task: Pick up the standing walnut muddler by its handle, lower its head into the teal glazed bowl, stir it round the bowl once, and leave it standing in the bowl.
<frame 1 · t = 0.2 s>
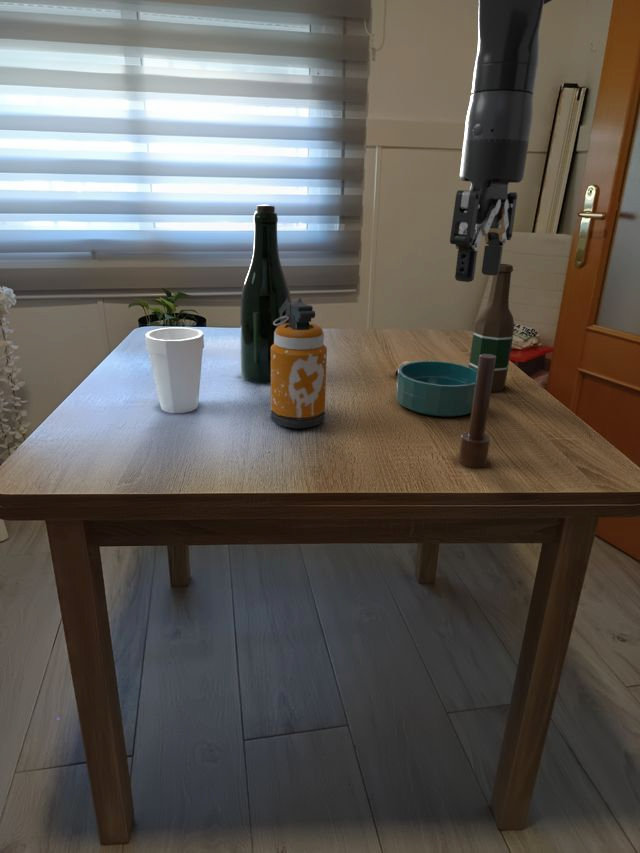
hand: (477, 277, 74), 26 cm above the table, tool pointing down, fingers open, 8 cm apart
green wine bottle: (266, 377, 118), on the table
cookie: (418, 378, 121), on the table
canister: (295, 419, 97), on the table
bowl: (436, 403, 106), on the table
foam cup: (179, 407, 101), on the table
beer bottle 2: (485, 387, 116), on the table
muddler: (472, 461, 84), on the table
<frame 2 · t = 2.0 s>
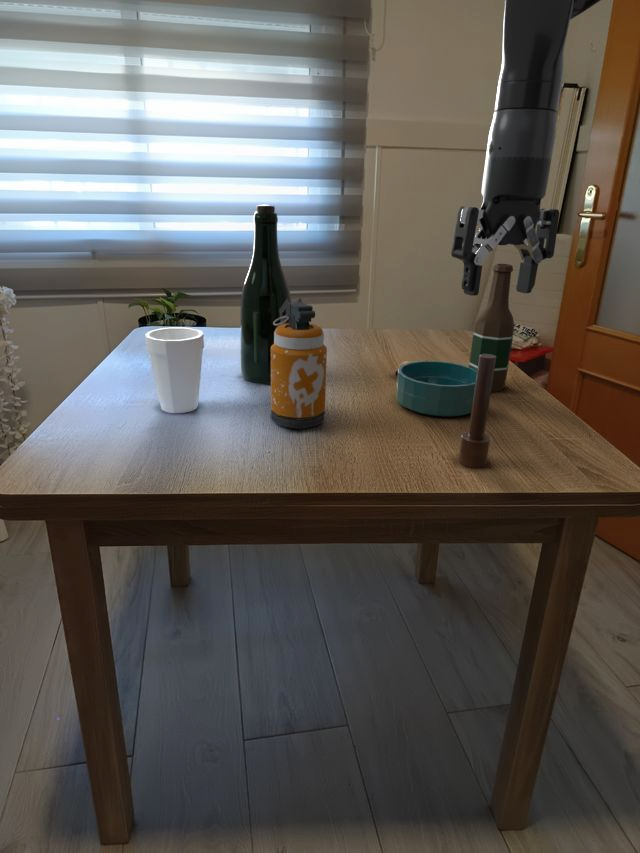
hand: (497, 293, 74), 24 cm above the table, tool pointing down, fingers open, 8 cm apart
nothing on the table moved.
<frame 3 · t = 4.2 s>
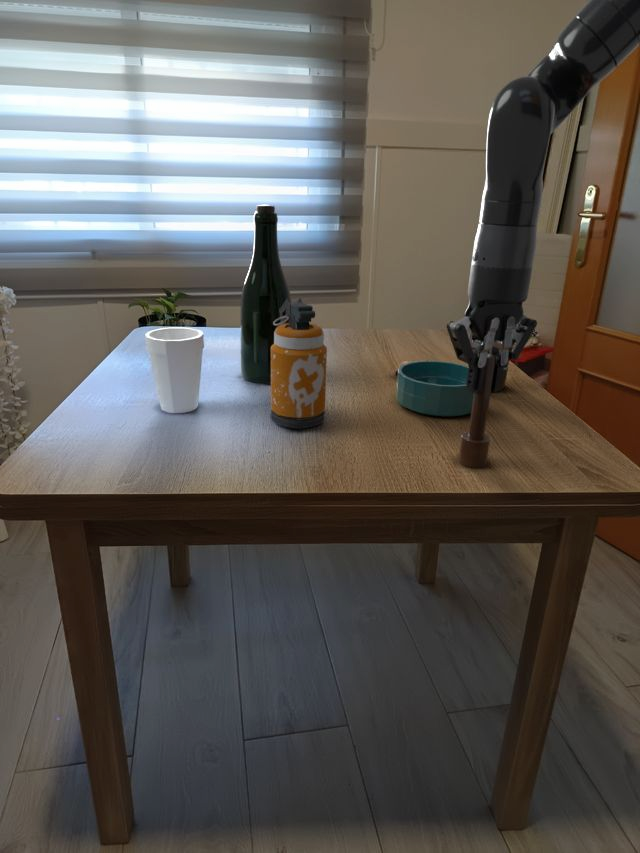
hand: (483, 390, 80), 11 cm above the table, tool pointing down, fingers closed on muddler, 2 cm apart
muddler: (472, 461, 84), on the table, touching gripper
everything else where it was.
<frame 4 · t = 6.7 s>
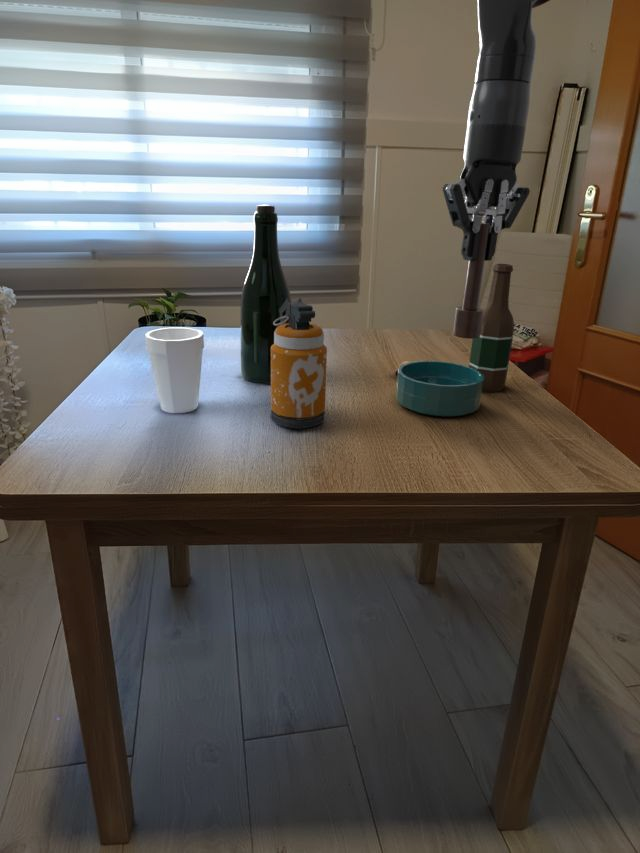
hand: (477, 259, 82), 27 cm above the table, tool pointing down, fingers closed on muddler
muddler: (466, 335, 86), point 16 cm above the table, touching gripper
everything else where it was.
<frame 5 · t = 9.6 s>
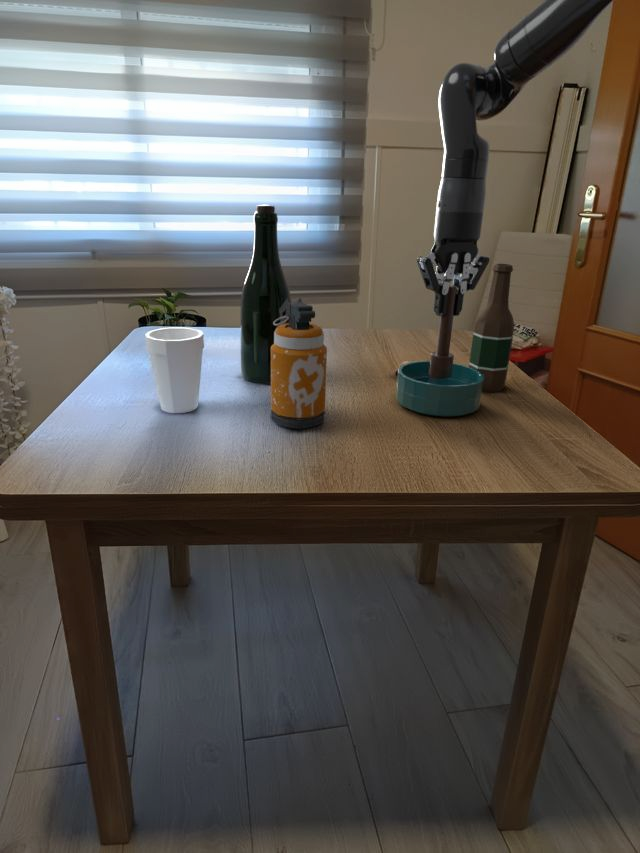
hand: (447, 314, 100), 17 cm above the table, tool pointing down, fingers closed on muddler
muddler: (439, 375, 104), point 5 cm above the table, touching gripper
everything else where it was.
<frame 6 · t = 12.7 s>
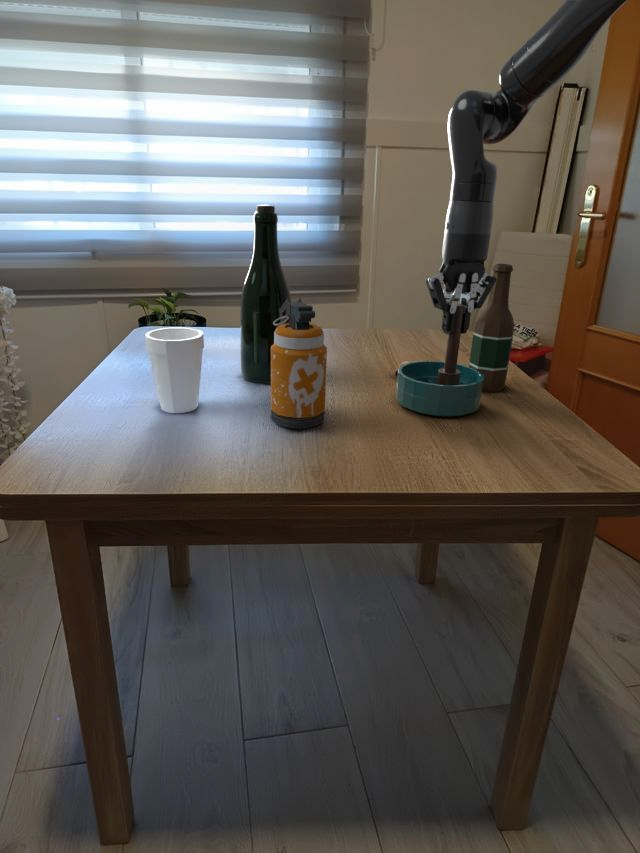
hand: (454, 332, 102), 13 cm above the table, tool pointing down, fingers closed on muddler, 2 cm apart
muddler: (447, 391, 106), point 2 cm above the table, touching gripper
everything else where it was.
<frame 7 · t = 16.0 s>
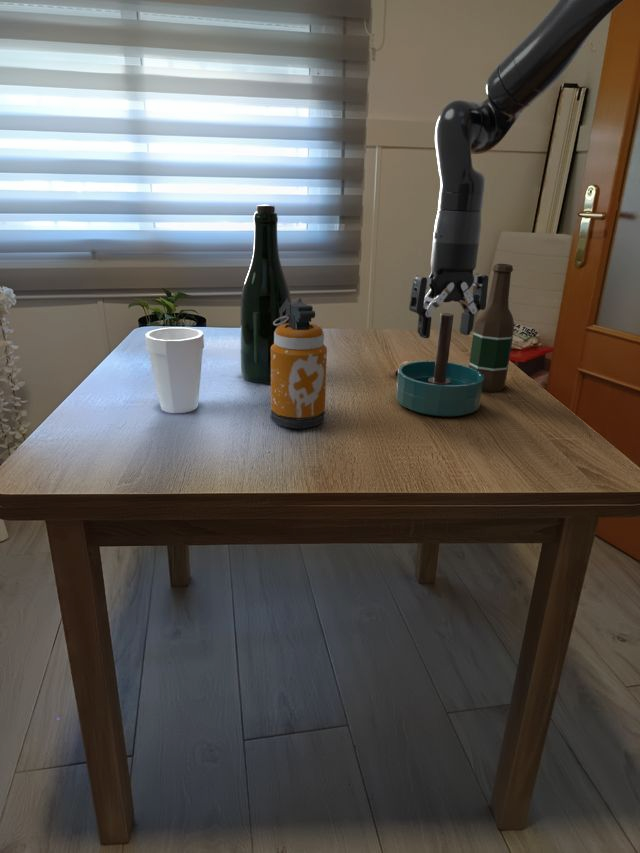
hand: (444, 335, 101), 13 cm above the table, tool pointing down, fingers open, 8 cm apart
muddler: (437, 400, 106), point 1 cm above the table, touching bowl
everything else where it was.
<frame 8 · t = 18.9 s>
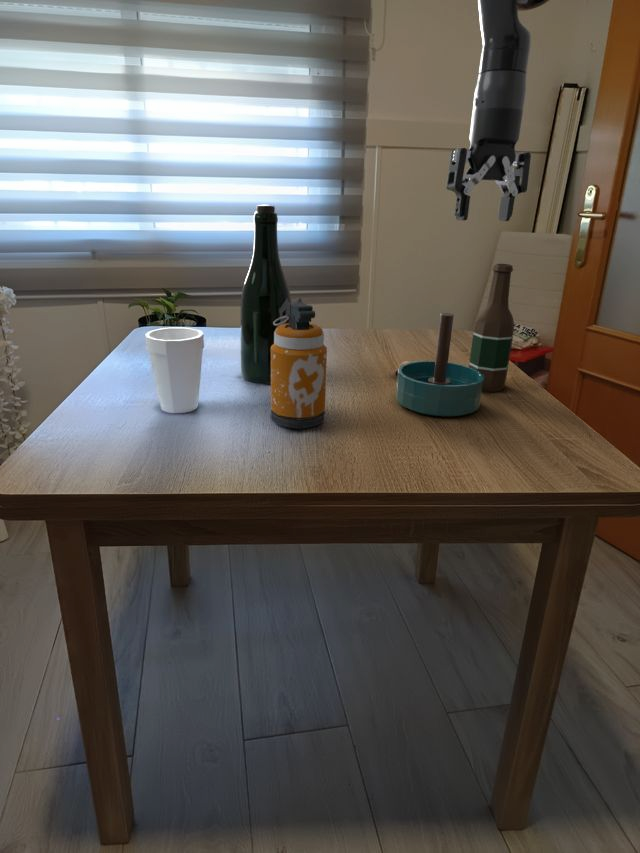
hand: (482, 220, 94), 32 cm above the table, tool pointing down, fingers open, 8 cm apart
nothing on the table moved.
at the end: muddler inside the target area in the bowl (0.0 cm from its centre), point 0.6 cm above the bowl's base; muddler tilted 0°; the gripper is holding nothing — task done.
